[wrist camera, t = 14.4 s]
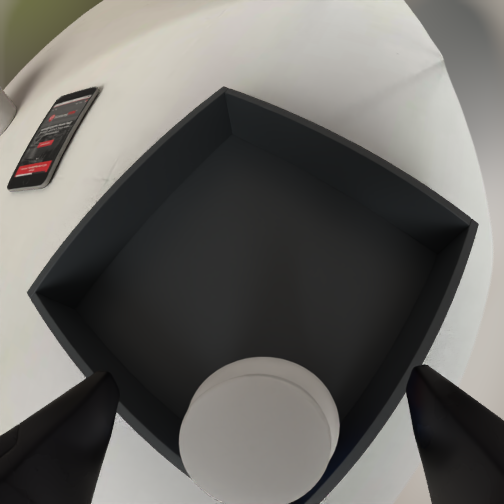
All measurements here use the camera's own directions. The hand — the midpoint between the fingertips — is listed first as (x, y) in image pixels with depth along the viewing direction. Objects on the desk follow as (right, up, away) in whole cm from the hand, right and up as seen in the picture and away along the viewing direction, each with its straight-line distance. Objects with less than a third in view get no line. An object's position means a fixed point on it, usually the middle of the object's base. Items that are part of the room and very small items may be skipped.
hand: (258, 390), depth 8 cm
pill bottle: (+1, -5, +8) cm, 9 cm away
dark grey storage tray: (0, +1, +11) cm, 11 cm away
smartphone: (-23, +17, +20) cm, 35 cm away
